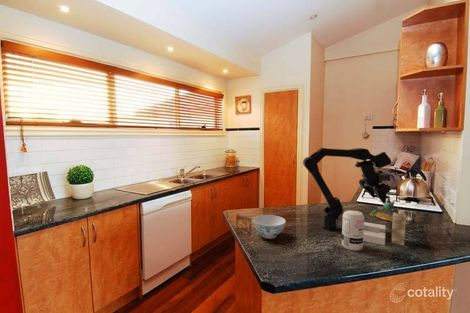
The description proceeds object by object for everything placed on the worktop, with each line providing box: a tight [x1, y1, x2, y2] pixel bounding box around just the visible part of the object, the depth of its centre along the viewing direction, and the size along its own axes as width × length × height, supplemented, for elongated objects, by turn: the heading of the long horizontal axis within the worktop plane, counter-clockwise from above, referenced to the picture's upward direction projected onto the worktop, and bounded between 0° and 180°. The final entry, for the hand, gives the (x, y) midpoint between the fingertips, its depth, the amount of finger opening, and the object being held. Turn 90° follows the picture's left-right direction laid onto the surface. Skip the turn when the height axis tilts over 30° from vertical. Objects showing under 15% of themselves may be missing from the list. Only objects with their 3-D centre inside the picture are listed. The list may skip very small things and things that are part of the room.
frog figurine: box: [369, 194, 399, 223], centre depth 141 cm, size 10×18×15 cm, turn 23°
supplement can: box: [341, 209, 365, 252], centre depth 106 cm, size 8×8×15 cm
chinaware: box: [253, 214, 286, 240], centre depth 118 cm, size 15×15×8 cm
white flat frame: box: [363, 221, 386, 246], centre depth 119 cm, size 12×18×3 cm, turn 149°
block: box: [391, 212, 407, 246], centre depth 111 cm, size 4×4×12 cm
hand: (379, 200), depth 125 cm, fingers open, 9 cm apart
